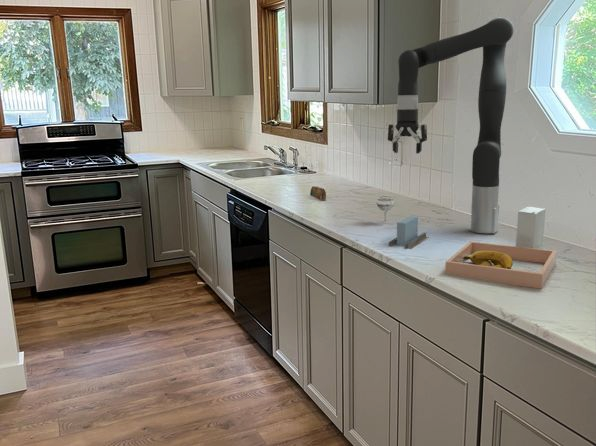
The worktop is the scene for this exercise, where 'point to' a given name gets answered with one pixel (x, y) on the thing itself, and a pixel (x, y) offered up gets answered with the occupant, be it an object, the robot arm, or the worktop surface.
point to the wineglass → (385, 204)
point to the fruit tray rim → (503, 274)
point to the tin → (318, 193)
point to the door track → (412, 242)
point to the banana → (495, 257)
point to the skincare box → (530, 227)
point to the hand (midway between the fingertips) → (406, 153)
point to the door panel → (407, 230)
